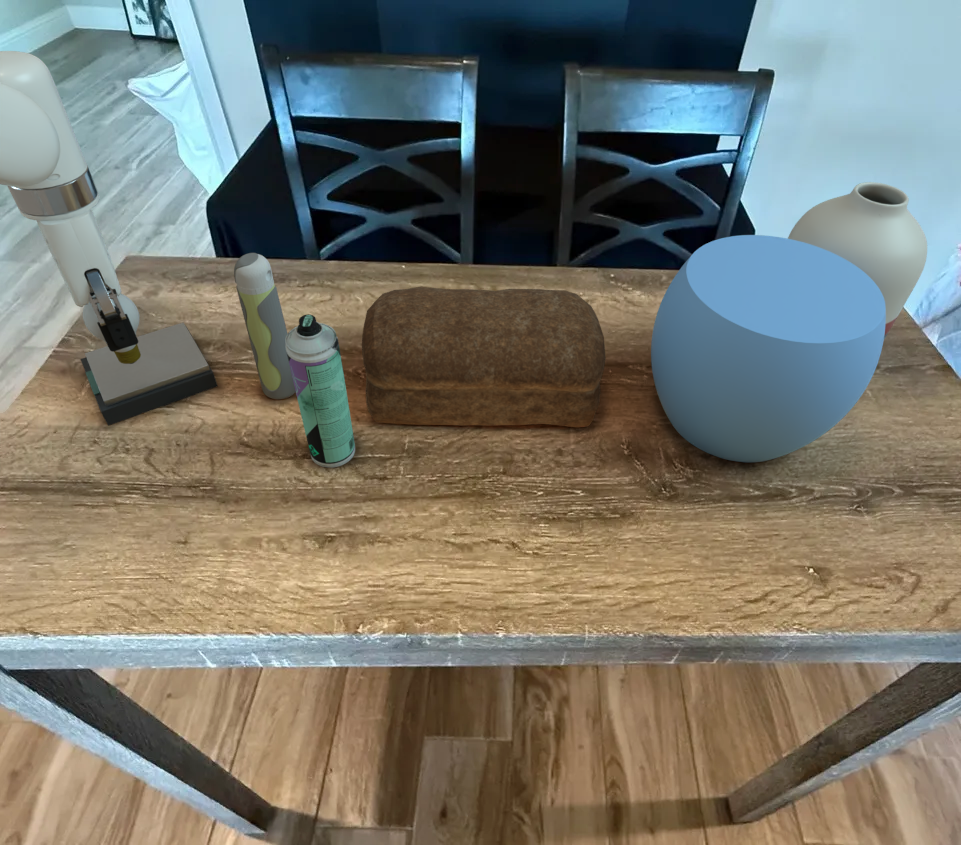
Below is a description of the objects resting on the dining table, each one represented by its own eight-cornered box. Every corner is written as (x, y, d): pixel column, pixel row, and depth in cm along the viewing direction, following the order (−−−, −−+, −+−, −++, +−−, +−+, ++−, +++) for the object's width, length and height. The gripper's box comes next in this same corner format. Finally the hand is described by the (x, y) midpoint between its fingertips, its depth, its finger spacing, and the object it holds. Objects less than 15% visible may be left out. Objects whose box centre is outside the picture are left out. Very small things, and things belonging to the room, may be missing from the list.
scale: (108, 426, 85) (97, 406, 83) (87, 373, 92) (77, 353, 90) (217, 386, 91) (211, 366, 88) (190, 339, 98) (183, 319, 95)
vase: (761, 299, 109) (817, 153, 92) (874, 328, 104) (954, 180, 87) (743, 359, 98) (802, 207, 81) (868, 395, 93) (959, 241, 76)
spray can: (347, 429, 86) (325, 298, 72) (361, 459, 82) (341, 327, 68) (305, 443, 84) (273, 310, 70) (317, 473, 80) (287, 341, 66)
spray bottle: (290, 404, 89) (259, 273, 75) (256, 397, 89) (218, 266, 75) (306, 380, 92) (278, 250, 78) (273, 374, 93) (240, 244, 79)
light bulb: (123, 344, 87) (94, 278, 80) (165, 351, 87) (139, 284, 80) (96, 373, 83) (63, 306, 76) (140, 380, 83) (110, 313, 75)
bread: (600, 434, 86) (618, 354, 77) (361, 429, 86) (349, 348, 76) (586, 350, 98) (600, 272, 89) (376, 345, 98) (368, 266, 88)
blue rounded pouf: (865, 483, 81) (953, 352, 67) (662, 491, 80) (707, 358, 65) (785, 352, 99) (841, 226, 85) (618, 356, 97) (646, 228, 83)
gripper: (1, 166, 72) (69, 305, 85) (28, 237, 62) (101, 383, 75) (76, 151, 75) (131, 288, 88) (113, 216, 65) (169, 360, 78)
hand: (117, 330), depth 81 cm, fingers closed on light bulb, 5 cm apart
